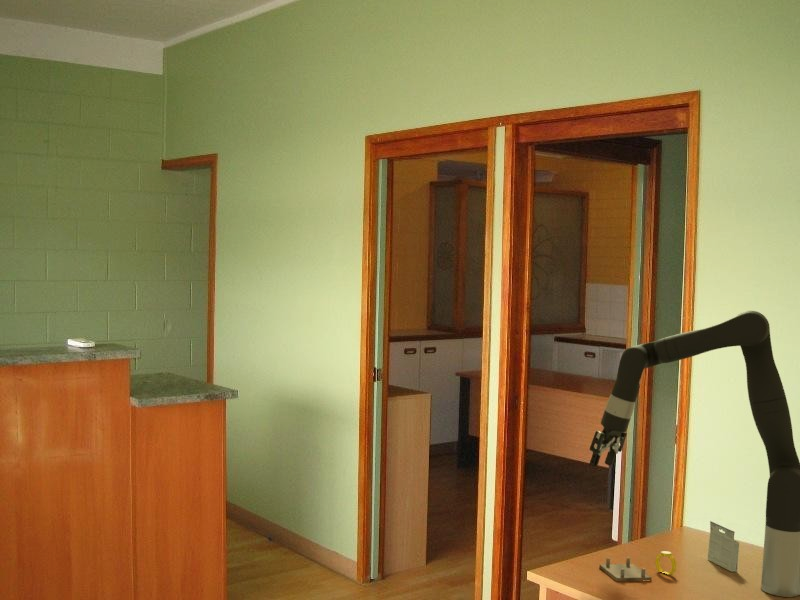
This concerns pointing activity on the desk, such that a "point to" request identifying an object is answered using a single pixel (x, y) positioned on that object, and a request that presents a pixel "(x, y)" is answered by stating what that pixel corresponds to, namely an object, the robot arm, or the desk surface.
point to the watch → (666, 553)
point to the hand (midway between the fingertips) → (600, 465)
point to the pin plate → (624, 571)
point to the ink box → (723, 547)
